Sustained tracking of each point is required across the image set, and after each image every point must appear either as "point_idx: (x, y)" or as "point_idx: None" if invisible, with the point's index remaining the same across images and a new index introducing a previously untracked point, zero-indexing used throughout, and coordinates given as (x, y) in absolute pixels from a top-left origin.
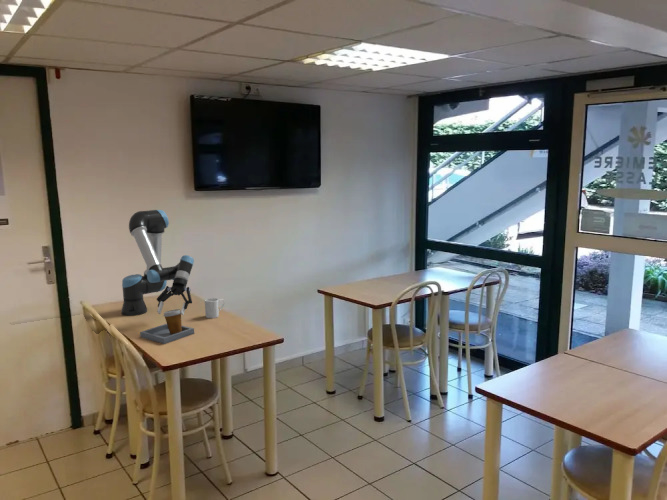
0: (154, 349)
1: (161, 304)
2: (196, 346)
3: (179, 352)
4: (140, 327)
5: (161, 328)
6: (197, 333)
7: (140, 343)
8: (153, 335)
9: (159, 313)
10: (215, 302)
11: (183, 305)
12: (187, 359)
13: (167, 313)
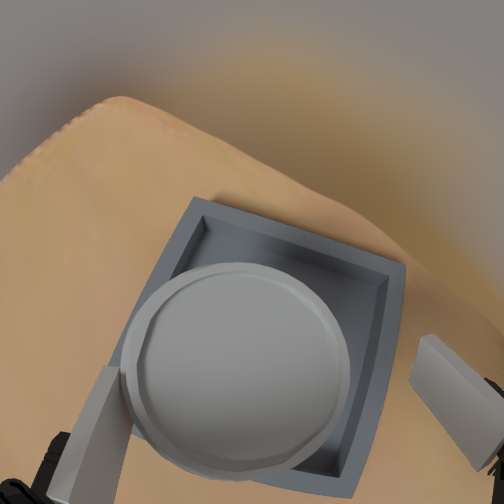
0: (211, 159)
1: (477, 412)
2: (47, 223)
3: (98, 159)
4: None
5: (357, 407)
6: None
7: (325, 205)
8: (290, 228)
9: (415, 373)
10: None
11: (72, 448)
12: (67, 130)
13: (250, 265)
